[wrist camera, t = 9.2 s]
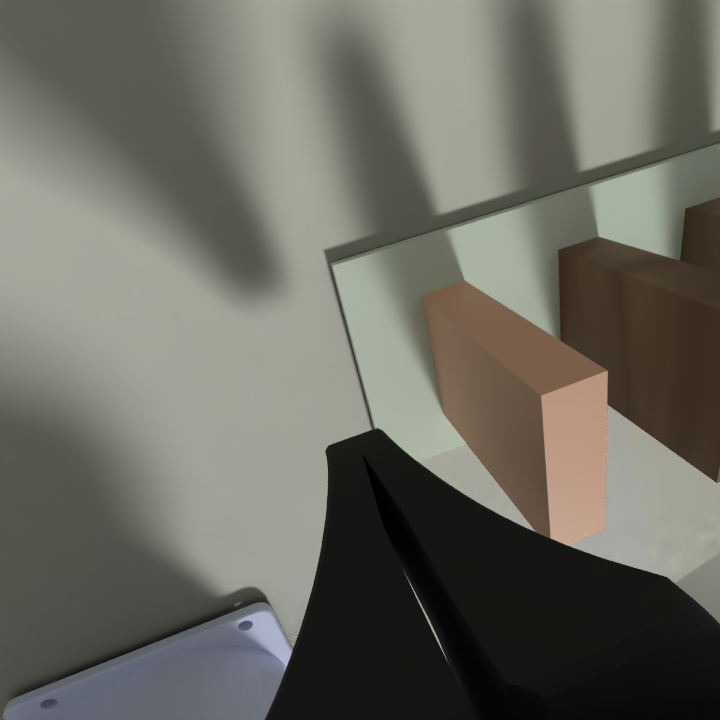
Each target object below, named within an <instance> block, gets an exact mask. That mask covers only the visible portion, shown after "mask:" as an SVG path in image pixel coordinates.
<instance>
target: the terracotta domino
mask: <svg viewBox="0 0 720 720" xmlns="http://www.w3.org/2000/svg"><path fill="white" fill-rule="evenodd" d="M421 297H422V303H423V308H424V313H425V318H426V324H427V329H428V334H429V339H430V345H431V350H432V355H433V360H434V366H435V371H436V376H437V381H438V387H439V392H440V397H441V402H442V408H443V413H444V415H445V417H446V418H447V419H448V421H449V422H450V423H451V424H452V426H453V427H454V428H455V429H456V431H457V432H458V433H459V435H460V436H461V437H462V438H463V440H464V441H465V442H466V443H467V445H468V446H469V447H470V449H471V450H472V451H473V452H474V454H475V455H476V456H477V457H478V459H479V460H480V461H481V463H482V464H483V465H484V466H485V468H486V469H487V470H488V471H489V473H490V474H491V475H492V477H493V478H494V479H495V480H496V482H497V483H498V484H499V485H500V487H501V488H502V489H503V491H504V492H505V493H506V494H507V496H508V497H509V498H510V499H511V501H512V502H513V503H514V505H515V506H516V507H517V508H518V510H519V511H520V512H521V513H522V515H523V516H524V517H525V519H526V520H527V521H528V522H529V524H530V525H531V526H532V527H533V529H534V530H535V531H536V532H537V533H539V534H541V535H544V536H546V537H548V538H551V539H553V540H556V541H558V542H560V543H563V544H565V545H569V544H571V543H574V542H576V541H579V540H581V539H583V538H586V537H588V536H590V535H593V534H595V533H598V532H600V531H602V530H605V527H606V456H607V385H608V370H606V369H604V368H603V367H601V366H600V365H598V364H596V363H595V362H593V361H592V360H590V359H588V358H587V357H585V356H584V355H582V354H581V353H579V352H577V351H576V350H574V349H573V348H571V347H569V346H568V345H566V344H565V343H563V342H562V341H560V340H558V339H557V338H555V337H554V336H552V335H550V334H549V333H547V332H546V331H544V330H542V329H541V328H539V327H538V326H536V325H535V324H533V323H531V322H530V321H528V320H527V319H525V318H523V317H522V316H520V315H519V314H517V313H516V312H514V311H512V310H511V309H509V308H508V307H506V306H504V305H503V304H501V303H500V302H498V301H497V300H495V299H493V298H492V297H490V296H489V295H487V294H485V293H484V292H482V291H481V290H479V289H477V288H476V287H474V286H473V285H471V284H470V283H468V282H466V281H462V282H459V283H456V284H453V285H450V286H447V287H444V288H441V289H438V290H435V291H433V292H430V293H427V294H424V295H421Z"/></svg>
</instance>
